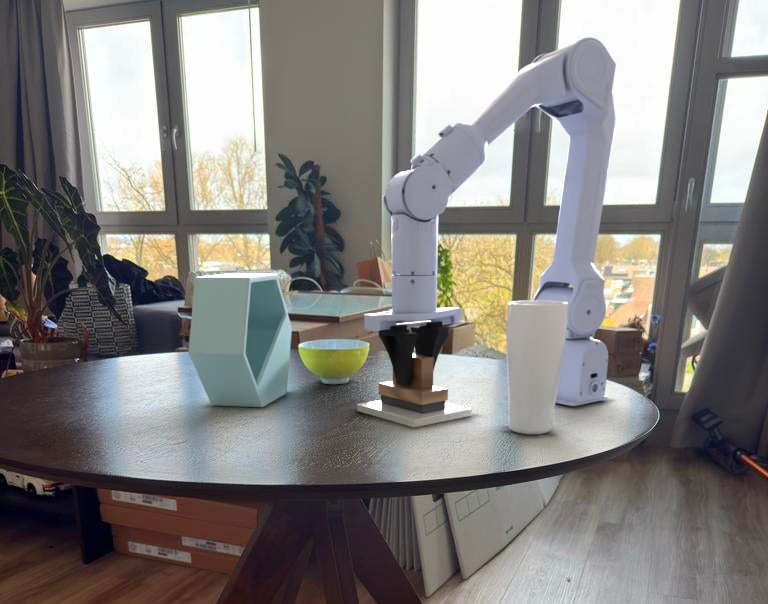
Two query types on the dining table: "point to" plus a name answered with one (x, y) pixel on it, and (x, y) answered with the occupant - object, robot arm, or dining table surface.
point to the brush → (416, 389)
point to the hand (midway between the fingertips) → (413, 383)
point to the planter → (240, 338)
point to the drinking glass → (534, 362)
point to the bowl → (334, 358)
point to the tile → (413, 413)
